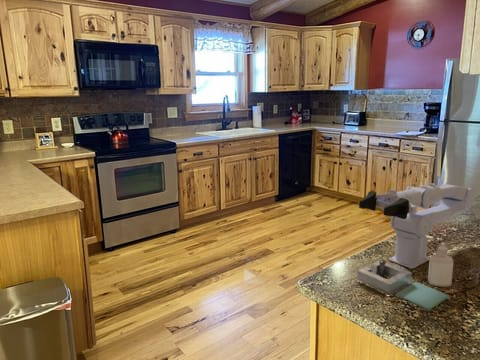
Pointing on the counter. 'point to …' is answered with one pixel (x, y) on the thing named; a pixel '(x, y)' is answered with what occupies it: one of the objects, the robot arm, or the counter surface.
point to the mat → (422, 295)
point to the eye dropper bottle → (440, 268)
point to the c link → (388, 286)
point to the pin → (382, 268)
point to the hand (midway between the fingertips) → (372, 208)
